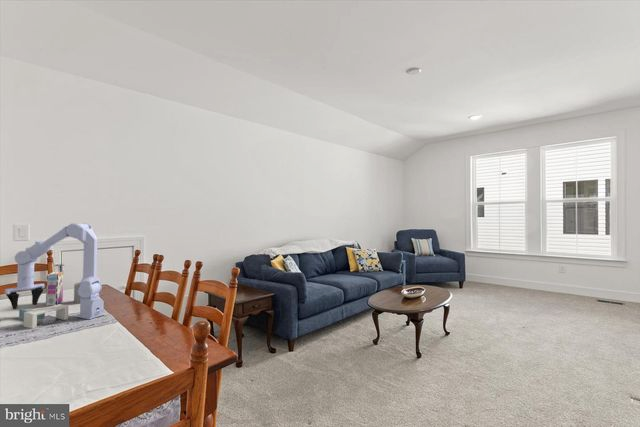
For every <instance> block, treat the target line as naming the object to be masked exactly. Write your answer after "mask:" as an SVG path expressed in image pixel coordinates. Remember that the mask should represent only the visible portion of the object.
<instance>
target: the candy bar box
mask: <svg viewBox="0 0 640 427" xmlns="http://www.w3.org/2000/svg"><path fill="white" fill-rule="evenodd" d="M64 272H65V271H52V272H50V273H48V274H46V295H45V307H50V306H54V305H59V304H60V303H62V302H63V299H64V298H63V297H64V295H63V293H64V277H65V276H64Z"/></svg>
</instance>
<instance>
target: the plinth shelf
mask: <svg viewBox="0 0 640 427" xmlns="http://www.w3.org/2000/svg"><path fill="white" fill-rule="evenodd" d="M31 310H32V311H27V312H24V318H23V327H25V328H29V329H34V328H35V329H36V328H37V327H38V326H37V325H38V324H37V315H39V314H43V313H45V314H46V313H51V312H55V317H56V319H57V320H59V319H60V320H69V305H66V304H60V303H59V304H58V305H54V306H45V307H42V308H36V309H31Z"/></svg>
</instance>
